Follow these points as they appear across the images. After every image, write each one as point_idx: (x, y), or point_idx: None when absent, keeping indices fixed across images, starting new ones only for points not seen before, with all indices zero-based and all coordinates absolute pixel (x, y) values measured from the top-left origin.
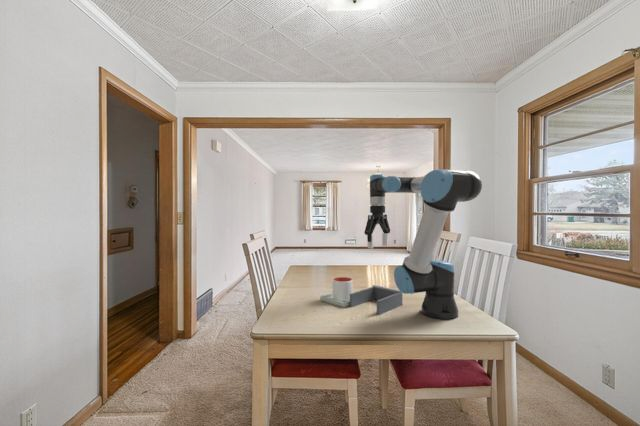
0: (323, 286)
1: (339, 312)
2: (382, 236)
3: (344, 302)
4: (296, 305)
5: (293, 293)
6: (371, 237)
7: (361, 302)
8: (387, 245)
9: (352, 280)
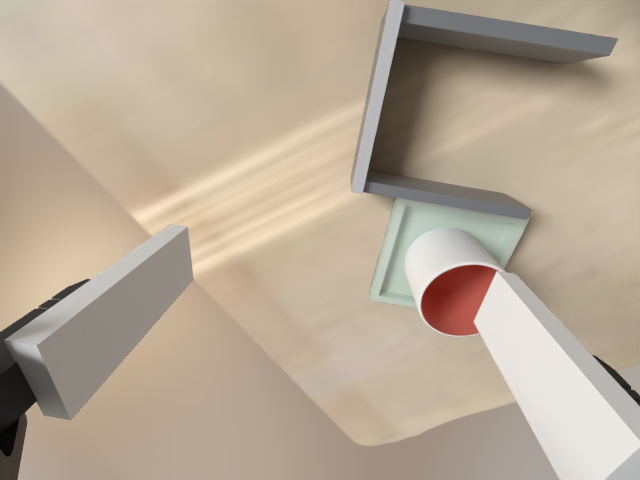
0: (319, 367)
1: (582, 201)
2: (118, 365)
3: (519, 222)
4: None
5: (436, 394)
6: (626, 410)
7: (448, 184)
8: (173, 226)
9: (460, 262)
